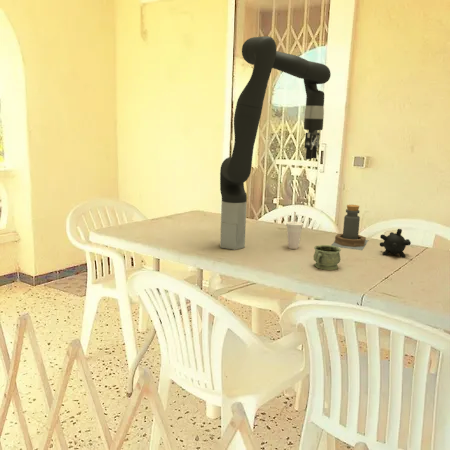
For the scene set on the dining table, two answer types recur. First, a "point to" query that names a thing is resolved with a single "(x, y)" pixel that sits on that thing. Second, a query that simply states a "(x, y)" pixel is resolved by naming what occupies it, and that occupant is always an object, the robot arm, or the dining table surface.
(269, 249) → the dining table surface
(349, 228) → the bottle
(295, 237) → the smoothie
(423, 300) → the dining table surface
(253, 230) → the dining table surface
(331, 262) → the vessel
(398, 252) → the toy ball
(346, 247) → the mat
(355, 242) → the ring
